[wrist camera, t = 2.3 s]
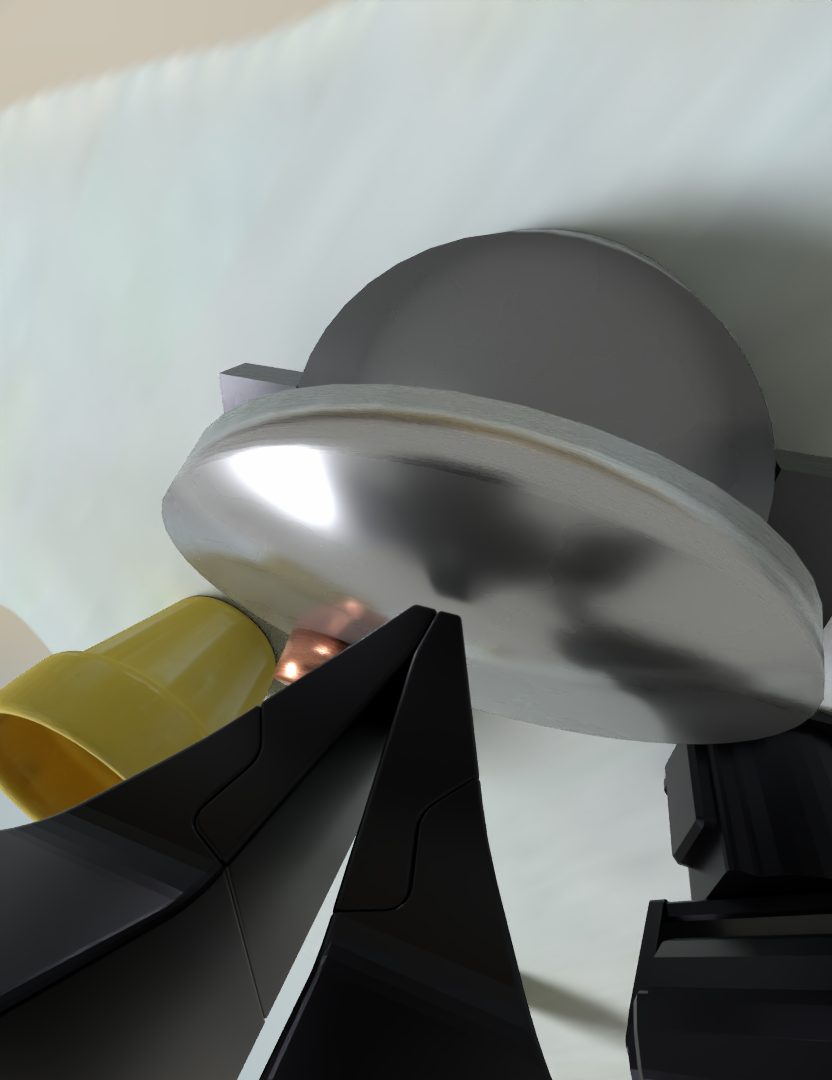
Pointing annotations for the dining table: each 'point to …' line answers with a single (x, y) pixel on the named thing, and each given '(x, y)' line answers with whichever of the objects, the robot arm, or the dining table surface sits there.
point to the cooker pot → (575, 363)
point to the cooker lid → (506, 559)
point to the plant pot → (128, 703)
